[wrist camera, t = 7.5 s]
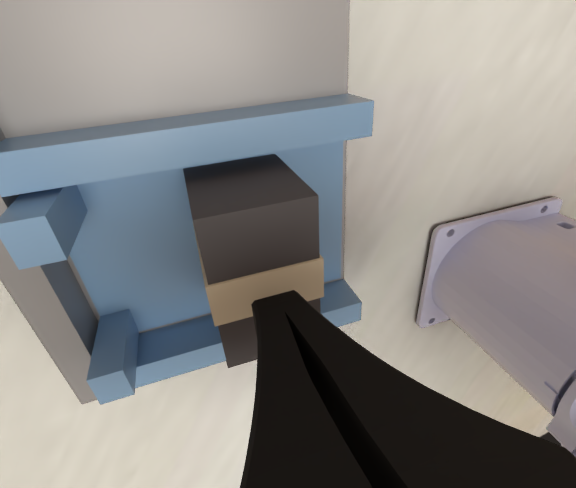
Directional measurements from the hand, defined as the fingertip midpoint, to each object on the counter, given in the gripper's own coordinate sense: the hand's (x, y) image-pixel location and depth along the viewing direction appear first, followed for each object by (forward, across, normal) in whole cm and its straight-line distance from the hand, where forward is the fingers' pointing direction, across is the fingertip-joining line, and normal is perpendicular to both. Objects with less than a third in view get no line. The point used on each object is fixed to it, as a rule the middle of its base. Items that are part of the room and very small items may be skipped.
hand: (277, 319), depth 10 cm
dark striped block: (+6, 0, 0) cm, 6 cm away
